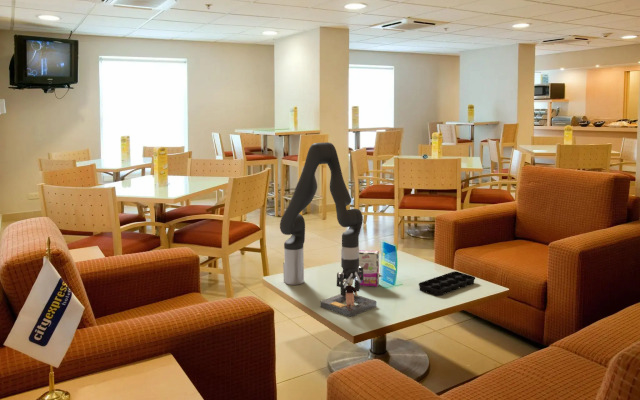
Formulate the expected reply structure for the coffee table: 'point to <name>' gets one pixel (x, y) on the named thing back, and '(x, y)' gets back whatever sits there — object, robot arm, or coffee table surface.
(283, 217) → the robot arm
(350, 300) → the grandmother figurine
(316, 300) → the coffee table surface
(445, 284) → the egg carton
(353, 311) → the holder board
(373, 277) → the candy bar box
